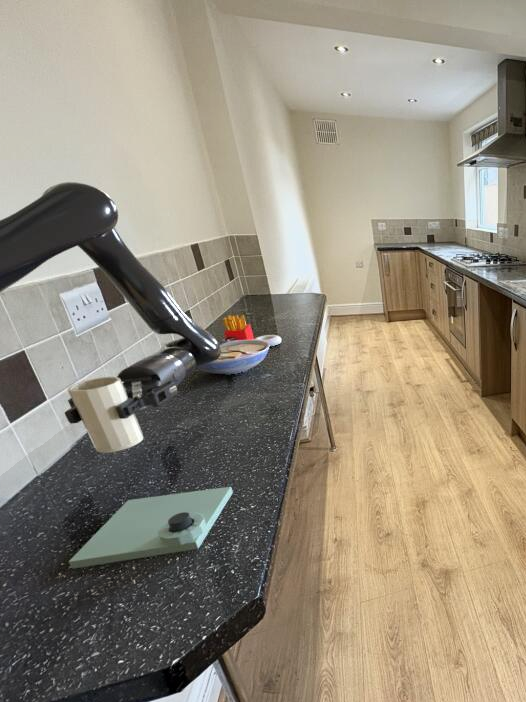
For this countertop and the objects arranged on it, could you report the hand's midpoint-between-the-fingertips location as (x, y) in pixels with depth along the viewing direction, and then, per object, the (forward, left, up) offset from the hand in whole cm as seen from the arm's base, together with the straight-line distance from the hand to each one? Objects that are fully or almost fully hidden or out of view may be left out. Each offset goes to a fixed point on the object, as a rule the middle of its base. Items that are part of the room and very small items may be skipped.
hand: (95, 415), depth 64 cm
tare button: (+12, -11, -15) cm, 23 cm away
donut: (-6, +98, -18) cm, 100 cm away
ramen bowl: (-8, +70, -18) cm, 73 cm away
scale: (+7, -7, -18) cm, 20 cm away
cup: (0, +2, -6) cm, 7 cm away
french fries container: (-11, +88, -18) cm, 91 cm away
